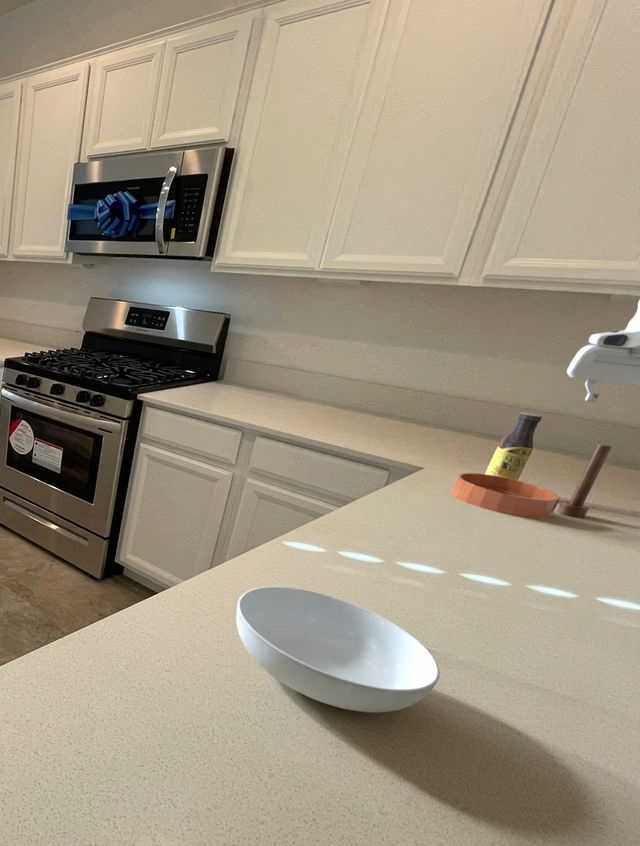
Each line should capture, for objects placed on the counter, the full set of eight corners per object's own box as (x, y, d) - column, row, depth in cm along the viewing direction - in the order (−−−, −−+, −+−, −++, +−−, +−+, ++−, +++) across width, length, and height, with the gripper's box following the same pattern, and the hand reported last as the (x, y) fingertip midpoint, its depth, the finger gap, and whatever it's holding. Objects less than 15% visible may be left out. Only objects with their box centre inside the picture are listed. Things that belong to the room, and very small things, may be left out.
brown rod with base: (582, 514, 137) (616, 445, 131) (586, 519, 134) (622, 449, 128) (555, 508, 139) (588, 440, 133) (559, 513, 136) (593, 444, 130)
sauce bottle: (491, 491, 149) (524, 415, 142) (474, 482, 155) (504, 409, 148) (520, 494, 148) (554, 418, 141) (501, 485, 154) (533, 412, 147)
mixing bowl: (540, 510, 138) (551, 486, 136) (554, 532, 125) (566, 507, 123) (446, 490, 147) (455, 467, 145) (450, 509, 135) (460, 485, 133)
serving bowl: (348, 761, 61) (370, 709, 59) (190, 644, 79) (202, 600, 77) (457, 712, 69) (480, 664, 67) (292, 615, 87) (305, 575, 85)
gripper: (723, 346, 119) (688, 412, 123) (580, 334, 130) (553, 394, 135) (737, 348, 114) (700, 417, 119) (587, 335, 125) (559, 398, 130)
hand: (621, 405), depth 127 cm, fingers open, 8 cm apart
